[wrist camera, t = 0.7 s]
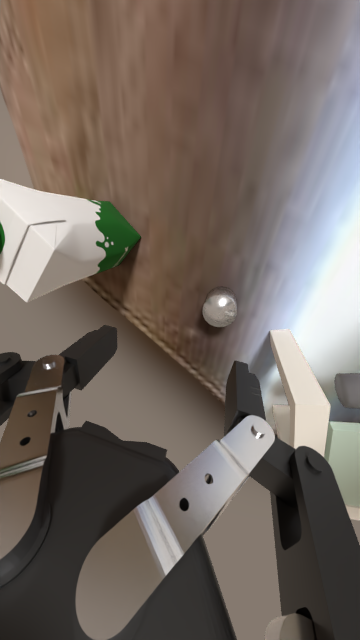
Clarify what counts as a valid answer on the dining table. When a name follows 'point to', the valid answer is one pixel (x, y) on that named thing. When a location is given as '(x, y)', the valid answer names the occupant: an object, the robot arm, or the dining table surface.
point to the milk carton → (57, 239)
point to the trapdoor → (346, 441)
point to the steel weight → (220, 307)
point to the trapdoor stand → (300, 401)
